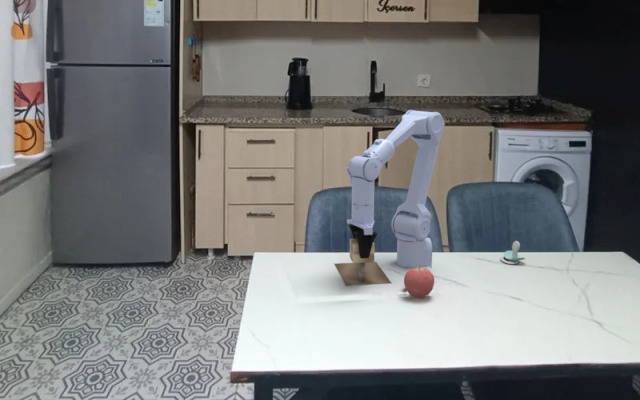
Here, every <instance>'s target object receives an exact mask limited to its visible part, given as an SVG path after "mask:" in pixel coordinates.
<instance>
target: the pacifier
mask: <svg viewBox="0 0 640 400" xmlns="http://www.w3.org/2000/svg"><path fill="white" fill-rule="evenodd" d="M520 249H521V243H520V242H519V241H518V240H515V241H514V242H513V243H512V246H511V250H510V249H509V250H505V252H504V253H503V256H501V257H500V258H499V259H500V261H501V262H502V263H504V264H508V265H516V264H519V261H523V260H525V259H526V258H525V257H520V255H519V254H518V251H519V250H520ZM507 260H508V261H507Z"/></svg>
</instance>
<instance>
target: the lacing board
mask: <svg viewBox="0 0 640 400" xmlns="http://www.w3.org/2000/svg"><path fill="white" fill-rule="evenodd" d="M333 264H334V266H335V269H336V270H337V272H338V273H339V276H340V278H341V279H342V281H343V283H344V285H345V287H347V286H366V285H367V286H368V285H385V284H386V285H388V284H392V282H391V280H390V279H389V278H388V276H387V275H386V274H385V272H384V271H383V269H382V268H381V267H380V265H379V263H378V262H377V261H374V263H353V262H344V263H343V262H342V263H341V262H339V263H333Z"/></svg>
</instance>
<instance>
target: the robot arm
mask: <svg viewBox="0 0 640 400" xmlns="http://www.w3.org/2000/svg"><path fill="white" fill-rule="evenodd" d="M445 125H446V122H445V121H444V119H443V116H442V115H441V113H440V112H438V111H432V112H431V111H424V110H414V109H409V110H407V111H406V112H405V114H403V115H402V116H401V121H400V123H399V124H398V125H397V126H396V127H395V128H394V129H393V130H392V132H391V133H390V134H388V136H386V137H385V138H377V139H375V140H374V141H373V143H372V145H370V147H369V148H367V149H366V150H364V151H363V152H362V154H361V155H355V156H354V157H353V158H351V159H350V160H349V163H348V165H347V167H346V172H347V175H348V176H349V179H350V180H349V183H350V185H351V218H350V219H346V223H347V225H348V227H349V229H350V231H351V235H352V239H357V241H358V246H359V254H360V258H369V255H370V251H371V247H372V244H373V242H375V239H376V238H377V237H378V236H377V235H378V232H377V231H373V227H374V225H375V224H376V223H375V183H376V182H375V180H376V179H378V177H379V176H380V171H381V170H382V168H383V166H384V165H385V164H386V163H387V162H388V161H390V160H391V159H392V158H393V157H394V155H395V149H396V148H398V146H400V145H401V144H403V143H404V142H405V141H406V140H407V139H409V138H411V139H412V140H413V141H414V142H415V143H416V144H417V147H418V148H417V153H416V156H415V161H414V164H413V169H412V170H413V171H412V173H411V179H410V183H409V187H408V190H407V195H406V199H405V201H404V202H403V203H402V204H400V205H399V206H397V207H396V208H397V209H396V212H395V213H394V215H393V217H392V219H391V230H392V232H393V233H394V235H395V237H396V238H397V239H396V240H397V243H396V248H397V249H396V265H397V266H399V267H402V268H409V269H412V268H417V267H421V268H425V267H431V269H432V267H433V266H432V265H433V244H432V243H433V242H432V240H431V238H430V237H428V236H429V234H430V231H431V219H432V214H431V212H430V211H429V210H428V208H427V207H426V202H427V198H428V194H429V189H430V186H431V182H432V181H431V180H432V176H433V172H434V168H435V164H436V160H437V156H438V151H439V146H440V144H441V141H442V138H443V132H444V129H445ZM415 214H416V215H415Z"/></svg>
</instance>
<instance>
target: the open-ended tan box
mask: <svg viewBox="0 0 640 400" xmlns="http://www.w3.org/2000/svg"><path fill="white" fill-rule="evenodd" d="M374 242H375V241H374ZM374 242H373V244H372V247H371V251H370V255H369V258H360V254H359V246H358V241H357V239H353V238H349V258H350V261H351V263H374V262H375V249H376V248H375V246H376V245H375V243H374Z"/></svg>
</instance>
